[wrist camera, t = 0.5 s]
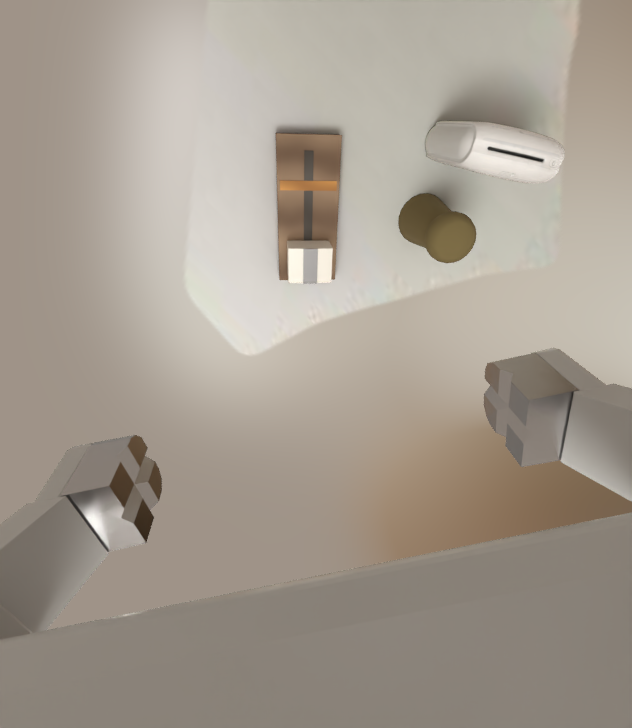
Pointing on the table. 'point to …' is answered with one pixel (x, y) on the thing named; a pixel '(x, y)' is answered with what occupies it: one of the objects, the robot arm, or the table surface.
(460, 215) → the cork
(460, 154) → the photo printer
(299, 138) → the slider board
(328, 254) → the fader tab
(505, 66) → the table surface
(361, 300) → the table surface
